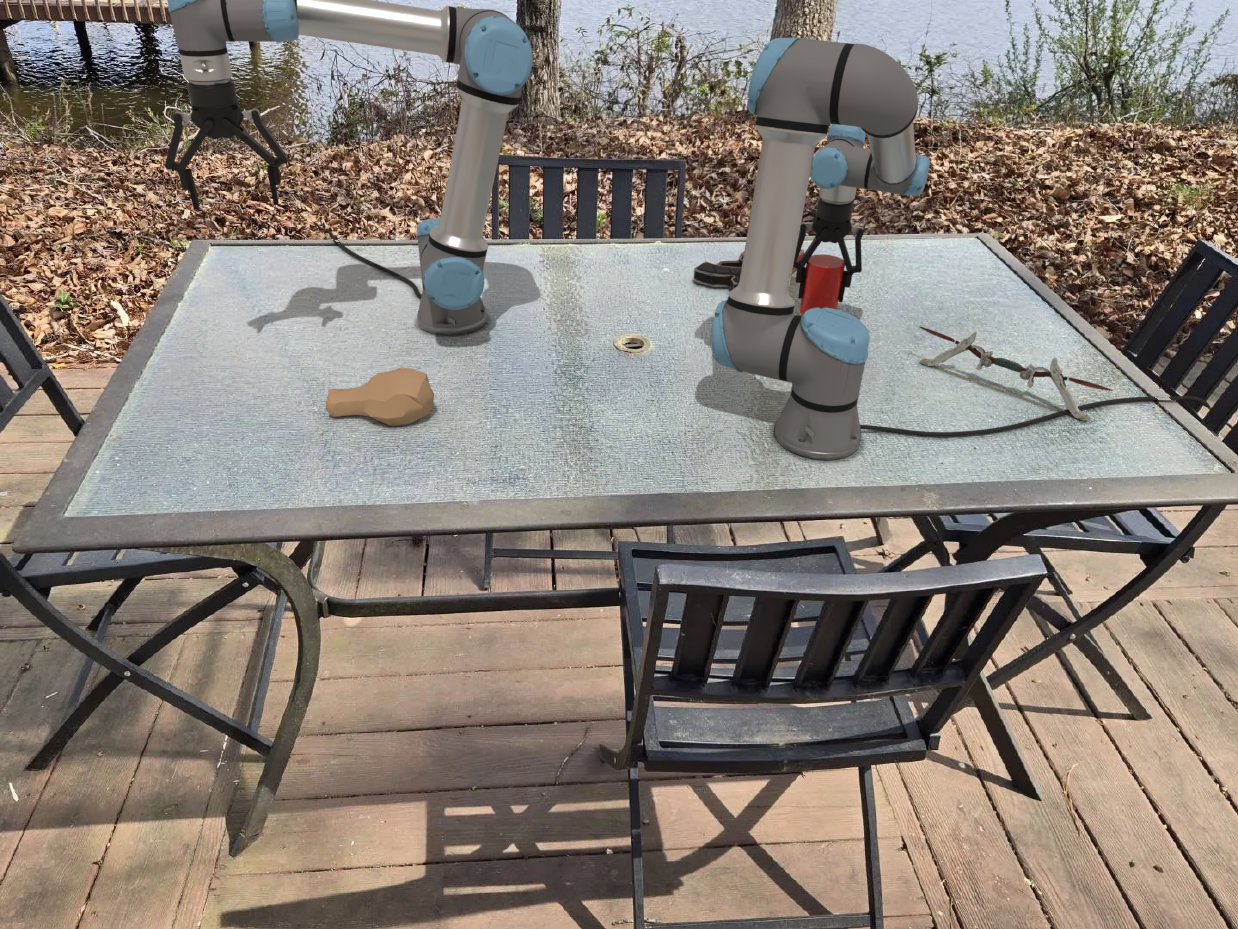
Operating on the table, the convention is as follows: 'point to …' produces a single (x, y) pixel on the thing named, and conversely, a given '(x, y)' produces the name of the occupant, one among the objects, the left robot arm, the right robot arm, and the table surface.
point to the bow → (1025, 373)
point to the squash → (386, 397)
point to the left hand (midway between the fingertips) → (237, 205)
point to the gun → (723, 272)
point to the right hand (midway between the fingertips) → (820, 297)
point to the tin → (822, 282)
